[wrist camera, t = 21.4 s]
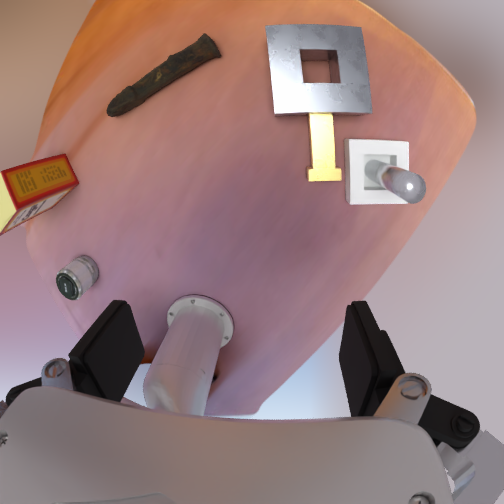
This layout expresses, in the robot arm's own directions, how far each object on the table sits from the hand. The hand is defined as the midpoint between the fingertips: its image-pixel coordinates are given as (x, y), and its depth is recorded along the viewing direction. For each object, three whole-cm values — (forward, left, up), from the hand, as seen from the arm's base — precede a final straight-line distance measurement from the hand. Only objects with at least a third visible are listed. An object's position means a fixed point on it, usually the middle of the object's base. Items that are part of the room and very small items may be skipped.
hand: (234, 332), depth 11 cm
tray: (+2, -16, -32) cm, 35 cm away
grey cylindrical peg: (+2, -16, -31) cm, 35 cm away
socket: (+16, -8, -32) cm, 36 cm away
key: (+7, -8, -31) cm, 33 cm away
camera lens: (-12, +36, -32) cm, 49 cm away
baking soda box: (+6, +38, -32) cm, 50 cm away
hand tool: (+18, +13, -32) cm, 39 cm away
